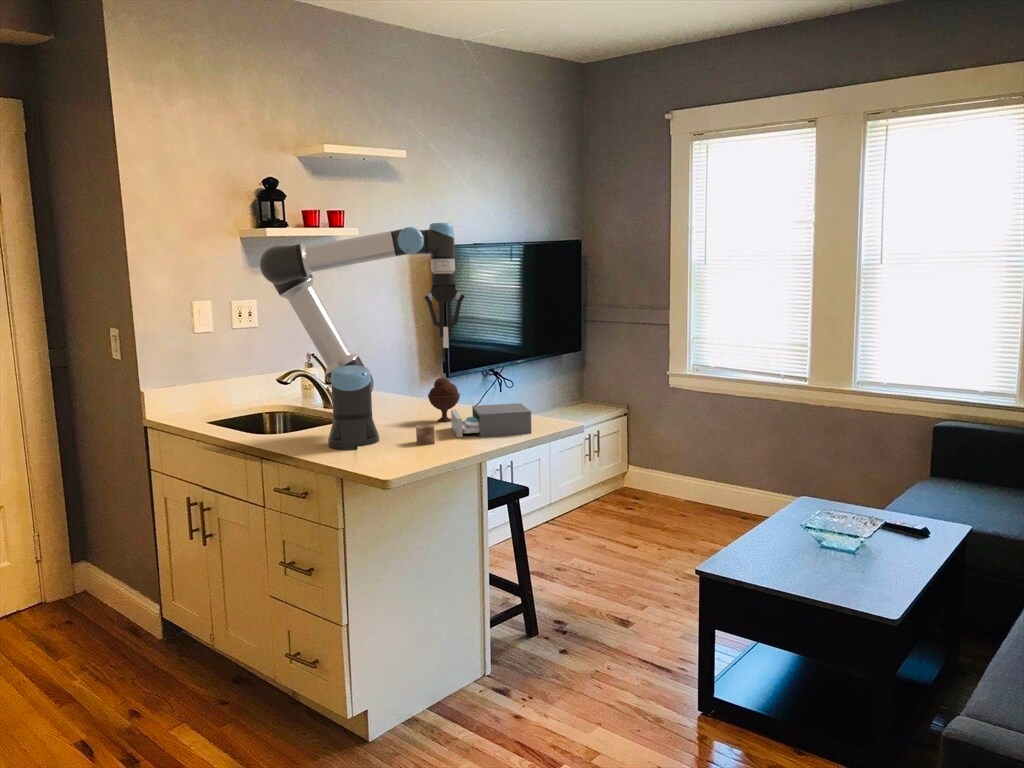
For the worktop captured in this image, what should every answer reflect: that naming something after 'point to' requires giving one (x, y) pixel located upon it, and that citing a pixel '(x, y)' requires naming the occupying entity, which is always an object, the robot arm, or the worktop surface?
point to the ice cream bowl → (443, 397)
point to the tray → (460, 425)
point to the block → (425, 434)
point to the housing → (503, 419)
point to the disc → (472, 422)
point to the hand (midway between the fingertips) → (445, 347)
